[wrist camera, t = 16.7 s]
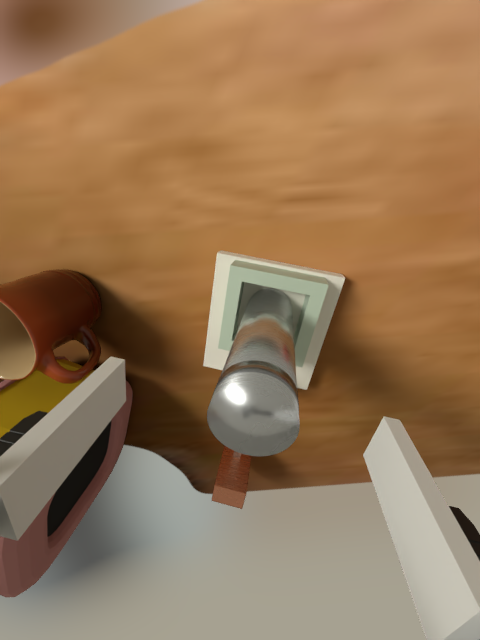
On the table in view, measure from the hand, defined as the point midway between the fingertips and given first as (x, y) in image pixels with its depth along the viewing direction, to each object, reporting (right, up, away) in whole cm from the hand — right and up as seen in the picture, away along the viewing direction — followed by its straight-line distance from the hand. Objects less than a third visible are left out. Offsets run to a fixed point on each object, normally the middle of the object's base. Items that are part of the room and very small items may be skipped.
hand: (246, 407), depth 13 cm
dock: (+3, +4, +15) cm, 16 cm away
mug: (-18, +6, +18) cm, 26 cm away
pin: (+1, -7, +20) cm, 21 cm away
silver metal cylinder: (+3, +6, +13) cm, 14 cm away
